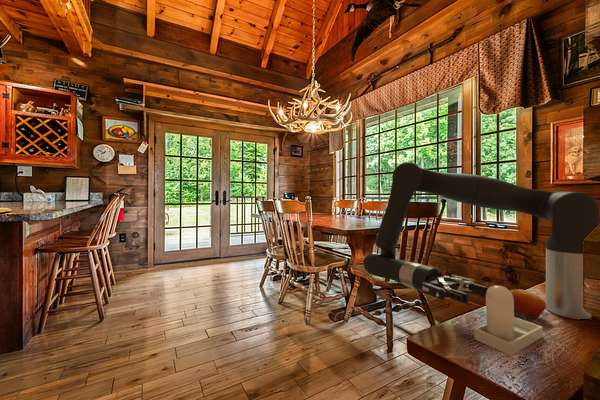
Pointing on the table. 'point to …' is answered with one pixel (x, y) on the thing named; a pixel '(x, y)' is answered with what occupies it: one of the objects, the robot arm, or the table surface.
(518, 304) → the fruit
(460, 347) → the table surface
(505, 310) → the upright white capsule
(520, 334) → the tray
